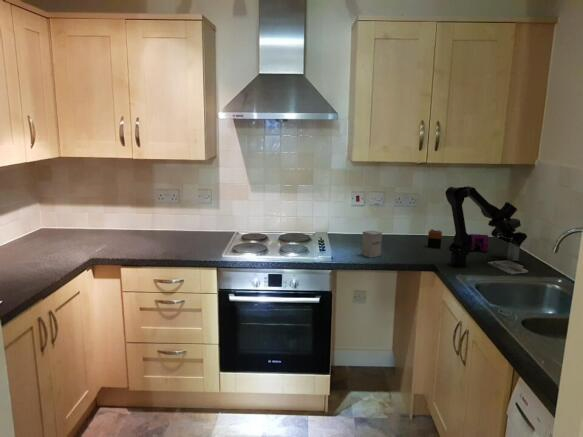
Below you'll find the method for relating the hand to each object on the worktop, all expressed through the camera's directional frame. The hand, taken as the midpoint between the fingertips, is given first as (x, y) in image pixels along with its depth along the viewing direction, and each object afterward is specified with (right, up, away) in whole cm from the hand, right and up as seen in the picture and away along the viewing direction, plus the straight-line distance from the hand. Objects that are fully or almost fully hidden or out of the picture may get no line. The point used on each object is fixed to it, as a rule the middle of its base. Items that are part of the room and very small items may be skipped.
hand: (516, 245), depth 238 cm
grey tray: (-11, -10, -13) cm, 20 cm away
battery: (-35, -3, +23) cm, 42 cm away
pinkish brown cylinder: (-74, -6, +5) cm, 74 cm away
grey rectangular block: (-1, -7, +1) cm, 8 cm away
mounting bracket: (-13, -3, +23) cm, 26 cm away
